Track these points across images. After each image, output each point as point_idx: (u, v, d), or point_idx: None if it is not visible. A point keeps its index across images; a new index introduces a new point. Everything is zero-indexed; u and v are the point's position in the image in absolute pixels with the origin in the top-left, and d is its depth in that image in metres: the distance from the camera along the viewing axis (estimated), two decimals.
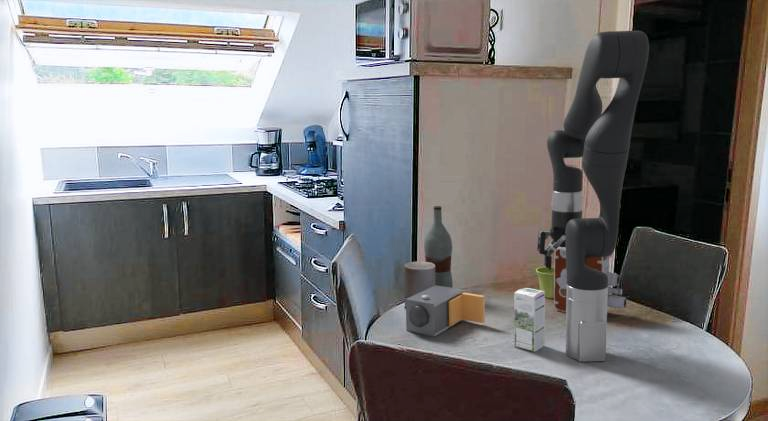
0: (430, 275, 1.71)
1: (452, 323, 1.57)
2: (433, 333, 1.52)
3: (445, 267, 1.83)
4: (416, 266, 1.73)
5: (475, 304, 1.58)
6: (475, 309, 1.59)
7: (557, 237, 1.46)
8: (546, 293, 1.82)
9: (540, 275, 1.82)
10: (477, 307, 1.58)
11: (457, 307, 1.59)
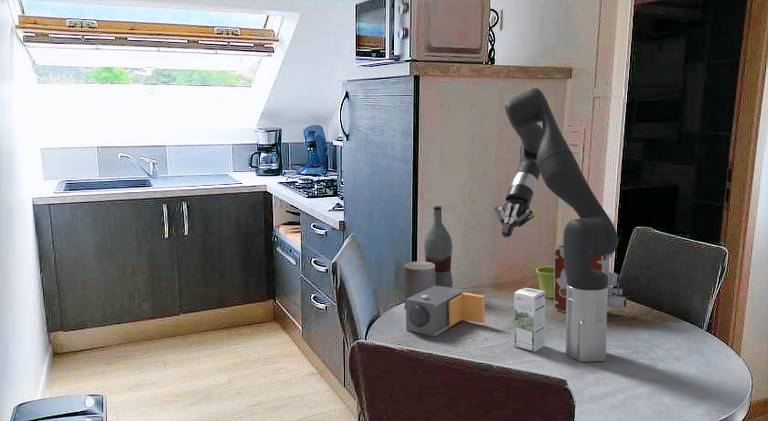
0: (430, 275, 1.71)
1: (452, 323, 1.57)
2: (433, 333, 1.52)
3: (445, 267, 1.83)
4: (416, 266, 1.73)
5: (475, 304, 1.58)
6: (475, 309, 1.59)
7: None
8: (546, 293, 1.82)
9: (540, 275, 1.82)
10: (477, 307, 1.58)
11: (457, 307, 1.59)
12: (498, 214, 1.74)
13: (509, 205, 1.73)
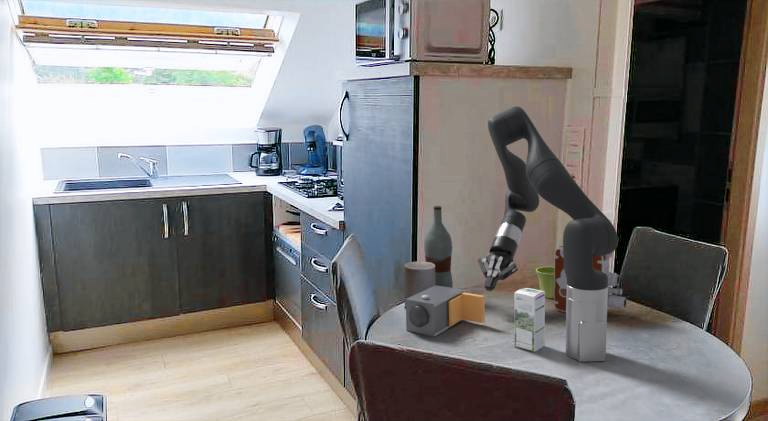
0: (430, 275, 1.71)
1: (452, 323, 1.57)
2: (433, 333, 1.52)
3: (445, 267, 1.83)
4: (416, 266, 1.73)
5: (475, 304, 1.58)
6: (475, 309, 1.59)
7: None
8: (546, 293, 1.82)
9: (540, 275, 1.82)
10: (477, 307, 1.58)
11: (457, 307, 1.59)
12: (481, 266, 1.71)
13: (493, 257, 1.70)
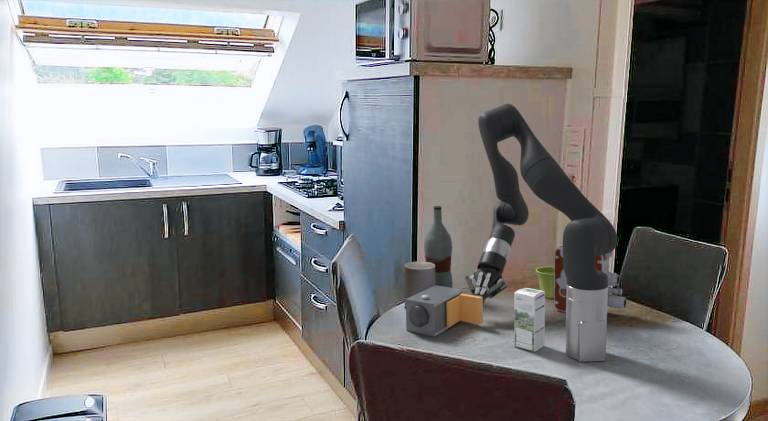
0: (430, 275, 1.71)
1: (450, 324, 1.56)
2: (433, 333, 1.52)
3: (445, 267, 1.83)
4: (416, 266, 1.73)
5: (473, 305, 1.57)
6: (473, 310, 1.58)
7: None
8: (546, 293, 1.82)
9: (540, 275, 1.82)
10: (475, 309, 1.57)
11: (455, 308, 1.58)
12: (469, 283, 1.64)
13: (480, 274, 1.63)
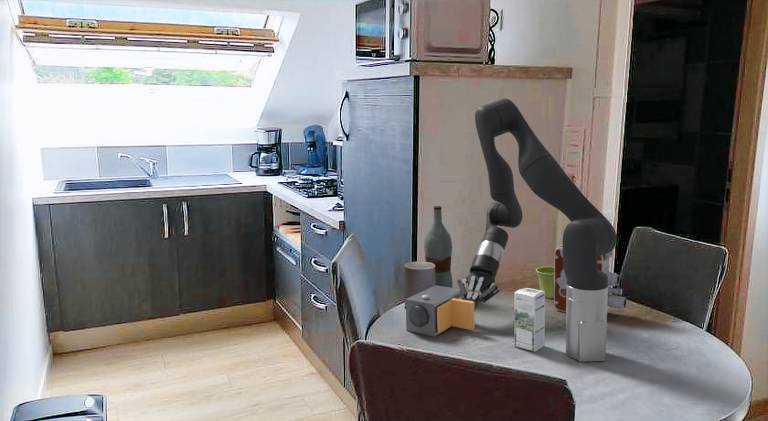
0: (430, 275, 1.71)
1: (441, 330, 1.52)
2: (433, 333, 1.52)
3: (445, 267, 1.83)
4: (416, 266, 1.73)
5: (465, 310, 1.53)
6: (465, 315, 1.54)
7: None
8: (546, 293, 1.82)
9: (540, 275, 1.82)
10: (467, 314, 1.53)
11: (446, 313, 1.54)
12: (461, 288, 1.60)
13: (473, 278, 1.59)
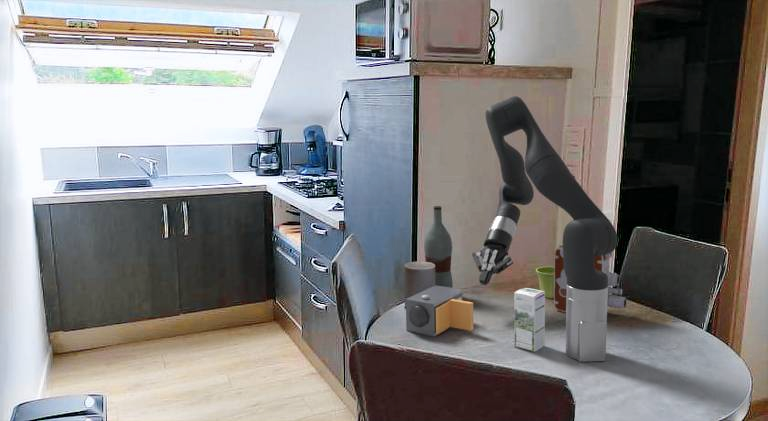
0: (430, 275, 1.71)
1: (439, 331, 1.51)
2: (433, 333, 1.52)
3: (445, 267, 1.83)
4: (416, 266, 1.73)
5: (463, 311, 1.53)
6: (463, 316, 1.53)
7: None
8: (546, 293, 1.82)
9: (540, 275, 1.82)
10: (465, 314, 1.53)
11: (445, 314, 1.53)
12: (476, 260, 1.68)
13: (487, 251, 1.67)
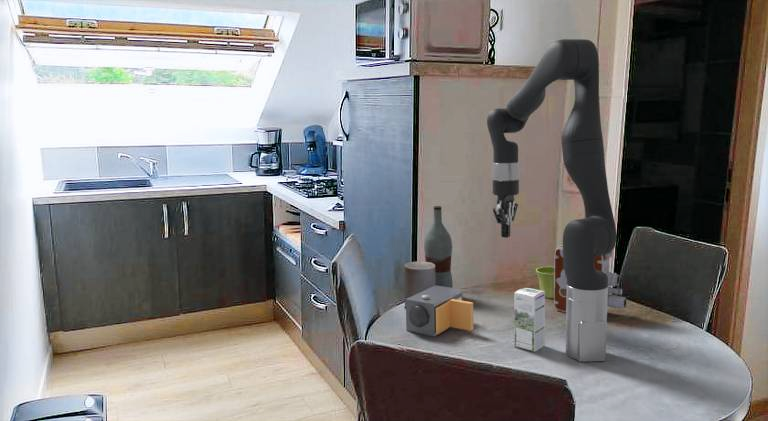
0: (430, 275, 1.71)
1: (439, 331, 1.51)
2: (433, 333, 1.52)
3: (445, 267, 1.83)
4: (416, 266, 1.73)
5: (463, 311, 1.53)
6: (463, 316, 1.53)
7: None
8: (546, 293, 1.82)
9: (540, 275, 1.82)
10: (465, 314, 1.53)
11: (445, 314, 1.53)
12: (504, 216, 1.62)
13: (510, 204, 1.63)
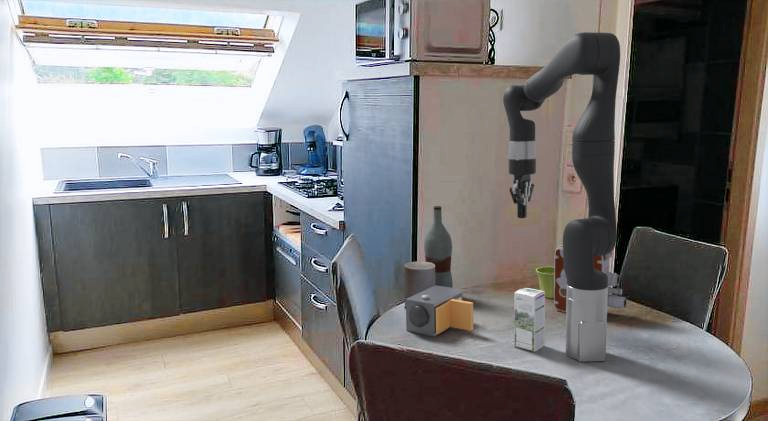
0: (430, 275, 1.71)
1: (439, 331, 1.51)
2: (433, 333, 1.52)
3: (445, 267, 1.83)
4: (416, 266, 1.73)
5: (463, 311, 1.53)
6: (463, 316, 1.53)
7: None
8: (546, 293, 1.82)
9: (540, 275, 1.82)
10: (465, 314, 1.53)
11: (445, 314, 1.53)
12: (520, 196, 1.58)
13: (527, 184, 1.59)
